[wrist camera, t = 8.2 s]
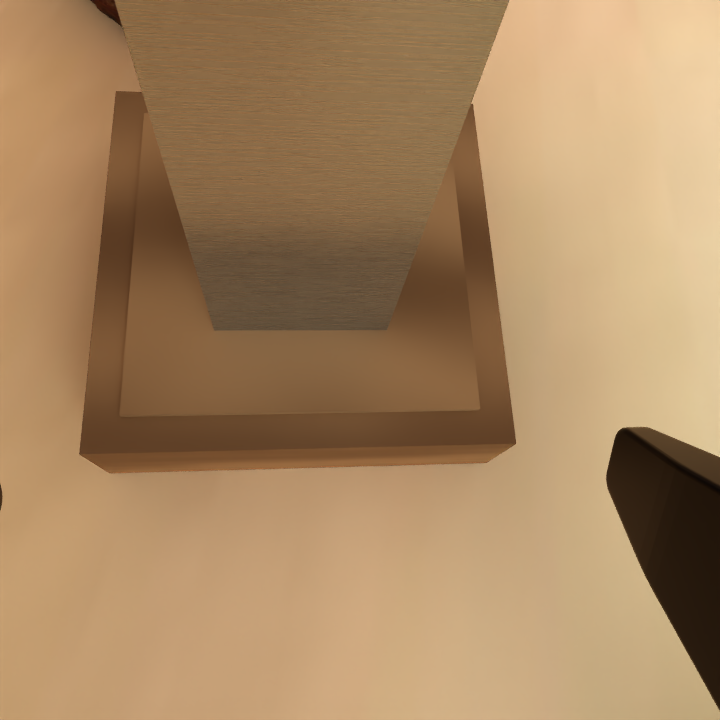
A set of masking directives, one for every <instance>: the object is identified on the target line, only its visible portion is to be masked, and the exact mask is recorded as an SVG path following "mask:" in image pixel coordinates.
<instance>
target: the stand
mask: <svg viewBox="0 0 720 720" xmlns="http://www.w3.org/2000/svg"><path fill="white" fill-rule="evenodd" d="M515 444H516V439H515V431H514V423H513V415H512V407H511V399H510V392H509V384H508V376H507V368H506V360H505V352H504V345H503V337H502V329H501V321H500V313H499V305H498V298H497V290H496V282H495V274H494V266H493V258H492V251H491V243H490V235H489V227H488V219H487V211H486V204H485V196H484V188H483V180H482V172H481V164H480V157H479V149H478V141H477V133H476V125H475V117H474V110H473V104H471V105H470V108H469V110H468V113H467V116H466V118H465V121H464V124H463V126H462V129H461V132H460V135H459V137H458V140H457V143H456V145H455V148H454V151H453V153H452V156H451V159H450V161H449V164H448V167H447V170H446V172H445V175H444V178H443V180H442V183H441V186H440V188H439V191H438V194H437V197H436V199H435V202H434V205H433V207H432V210H431V213H430V215H429V218H428V221H427V223H426V226H425V229H424V232H423V234H422V237H421V240H420V242H419V245H418V248H417V250H416V253H415V256H414V259H413V261H412V264H411V267H410V269H409V272H408V275H407V277H406V280H405V283H404V285H403V288H402V291H401V294H400V296H399V299H398V302H397V304H396V307H395V310H394V312H393V315H392V318H391V321H390V323H389V326H388V329H387V330H242V331H214V328H213V325H212V322H211V318H210V315H209V312H208V308H207V305H206V302H205V298H204V295H203V292H202V288H201V285H200V282H199V279H198V275H197V272H196V269H195V265H194V262H193V259H192V255H191V252H190V249H189V245H188V242H187V239H186V235H185V232H184V229H183V226H182V222H181V219H180V216H179V212H178V209H177V206H176V202H175V199H174V196H173V192H172V189H171V186H170V183H169V179H168V176H167V173H166V169H165V166H164V163H163V159H162V156H161V153H160V149H159V146H158V143H157V140H156V136H155V133H154V130H153V126H152V123H151V120H150V116H149V113H148V110H147V106H146V103H145V100H144V96H143V93H142V92H122V91H116V97H115V106H114V116H113V126H112V136H111V146H110V156H109V166H108V176H107V186H106V196H105V205H104V215H103V225H102V235H101V245H100V255H99V265H98V275H97V285H96V295H95V304H94V314H93V324H92V334H91V344H90V354H89V364H88V374H87V384H86V394H85V403H84V413H83V423H82V433H81V443H80V453H79V454H80V455H81V456H83V457H85V458H86V459H88V460H89V461H91V462H93V463H94V464H96V465H97V466H99V467H101V468H102V469H104V470H105V471H107V472H109V473H133V472H169V471H206V470H242V469H278V468H315V467H351V466H387V465H424V464H460V463H487V462H488V461H490V460H491V459H493V458H494V457H496V456H498V455H499V454H501V453H502V452H504V451H505V450H507V449H509V448H510V447H512V446H513V445H515Z"/></svg>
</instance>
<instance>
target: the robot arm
mask: <svg viewBox="0 0 720 720" xmlns="http://www.w3.org/2000/svg"><path fill="white" fill-rule="evenodd" d="M606 481H607V487H608V490H609V493H610V495H611V498H612V500H613V502H614V505H615V507H616V510H617V512H618V514H619V517H620V519H621V521H622V524H623V526H624V528H625V531H626V533H627V536H628V538H629V540H630V543H631V545H632V547H633V550H634V552H635V554H636V557H637V559H638V561H639V564H640V566H641V568H642V570H643V572H644V574H645V576H646V578H647V580H648V582H649V584H650V586H651V588H652V590H653V592H654V593H655V595H656V597H657V599H658V601H659V602H660V604H661V606H662V608H663V610H664V611H665V613H666V615H667V617H668V619H669V620H670V622H671V624H672V626H673V628H674V629H675V631H676V633H677V635H678V637H679V638H680V640H681V642H682V644H683V646H684V647H685V649H686V651H687V653H688V655H689V656H690V658H691V660H692V662H693V664H694V665H695V667H696V669H697V671H698V673H699V674H700V676H701V678H702V680H703V682H704V683H705V685H706V687H707V689H708V691H709V692H710V694H711V696H712V698H713V700H714V701H715V703H716V705H717V707H718V709H719V710H720V457H718V456H715V455H713V454H711V453H708V452H706V451H703V450H701V449H699V448H696V447H694V446H692V445H689V444H687V443H684V442H682V441H680V440H677V439H675V438H672V437H670V436H668V435H665V434H663V433H660V432H658V431H656V430H653V429H651V428H648V427H626V428H622V429H621V430H619V431H618V432H617V434H616V437H615V440H614V444H613V448H612V452H611V457H610V461H609V465H608V469H607V475H606ZM1 506H2V489H1V485H0V510H1Z"/></svg>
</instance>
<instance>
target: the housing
mask: <svg viewBox="0 0 720 720" xmlns="http://www.w3.org/2000/svg"><path fill="white" fill-rule="evenodd" d="M508 2H509V0H115V4H116V7H117V10H118V14H119V17H120V20H121V24H122V27H123V30H124V34H125V37H126V40H127V44H128V47H129V50H130V53H131V57H132V60H133V63H134V67H135V70H136V73H137V77H138V80H139V83H140V87H141V90H142V93H143V96H144V100H145V103H146V106H147V110H148V113H149V116H150V120H151V123H152V126H153V130H154V133H155V136H156V140H157V143H158V146H159V149H160V153H161V156H162V159H163V163H164V166H165V169H166V173H167V176H168V179H169V183H170V186H171V189H172V192H173V196H174V199H175V202H176V206H177V209H178V212H179V216H180V219H181V222H182V226H183V229H184V232H185V235H186V239H187V242H188V245H189V249H190V252H191V255H192V259H193V262H194V265H195V269H196V272H197V275H198V279H199V282H200V285H201V288H202V292H203V295H204V298H205V302H206V305H207V308H208V312H209V315H210V318H211V322H212V325H213V328H214V331H242V330H387V329H388V326H389V323H390V321H391V318H392V315H393V312H394V310H395V307H396V304H397V302H398V299H399V296H400V294H401V291H402V288H403V285H404V283H405V280H406V277H407V275H408V272H409V269H410V267H411V264H412V261H413V259H414V256H415V253H416V250H417V248H418V245H419V242H420V240H421V237H422V234H423V232H424V229H425V226H426V223H427V221H428V218H429V215H430V213H431V210H432V207H433V205H434V202H435V199H436V197H437V194H438V191H439V188H440V186H441V183H442V180H443V178H444V175H445V172H446V170H447V167H448V164H449V161H450V159H451V156H452V153H453V151H454V148H455V145H456V143H457V140H458V137H459V135H460V132H461V129H462V126H463V124H464V121H465V118H466V116H467V113H468V110H469V108H470V105H471V102H472V100H473V97H474V94H475V91H476V89H477V86H478V83H479V81H480V78H481V75H482V73H483V70H484V67H485V64H486V62H487V59H488V56H489V54H490V51H491V48H492V46H493V43H494V40H495V38H496V35H497V32H498V29H499V27H500V24H501V21H502V19H503V16H504V13H505V11H506V8H507V5H508Z"/></svg>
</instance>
